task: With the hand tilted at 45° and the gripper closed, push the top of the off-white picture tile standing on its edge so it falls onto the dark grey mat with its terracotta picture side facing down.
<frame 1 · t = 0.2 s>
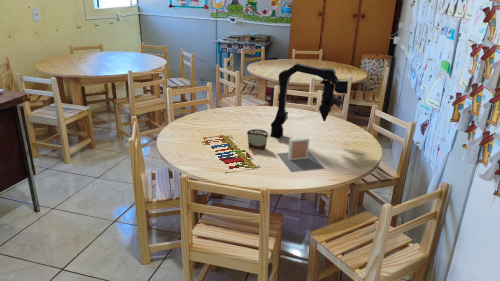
hand: (325, 118, 206), 15 cm above the table, tool pointing down, fingers open, 9 cm apart
felt mat: (299, 161, 187), on the table
multicolored flat board: (227, 153, 195), on the table
food container: (258, 147, 201), on the table
picture tile: (297, 158, 189), resting on felt mat
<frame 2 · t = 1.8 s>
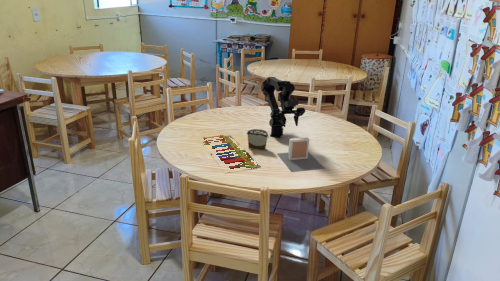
hand: (291, 126, 195), 14 cm above the table, tool tilted 45°, fingers open, 7 cm apart
nothing on the table moved.
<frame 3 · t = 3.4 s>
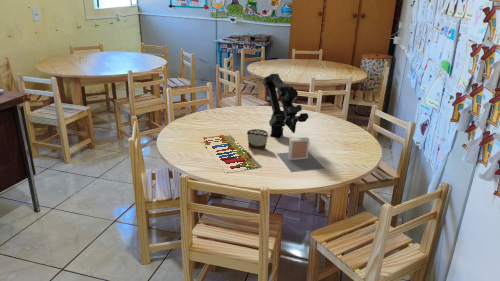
hand: (294, 132, 192), 12 cm above the table, tool tilted 45°, fingers closed
nothing on the table moved.
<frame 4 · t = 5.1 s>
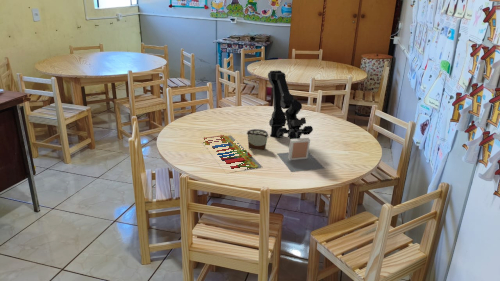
hand: (298, 146, 187), 7 cm above the table, tool tilted 45°, fingers closed
picture tile: (297, 158, 189), resting on felt mat, tilted 5°
everything else where it was.
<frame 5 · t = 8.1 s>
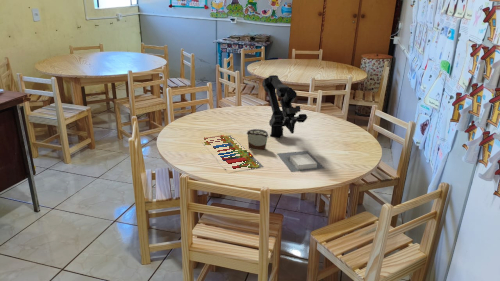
hand: (292, 133, 193), 11 cm above the table, tool tilted 45°, fingers closed
picture tile: (298, 157, 187), point 2 cm above the table, tilted 90°, touching felt mat
everything else where it was.
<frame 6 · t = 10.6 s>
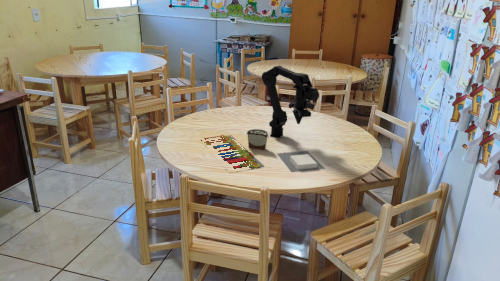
hand: (298, 123, 204), 12 cm above the table, tool pointing down, fingers closed
at the end: picture tile tilted 90°; picture tile 1.6 cm from the felt mat (horizontally) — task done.
